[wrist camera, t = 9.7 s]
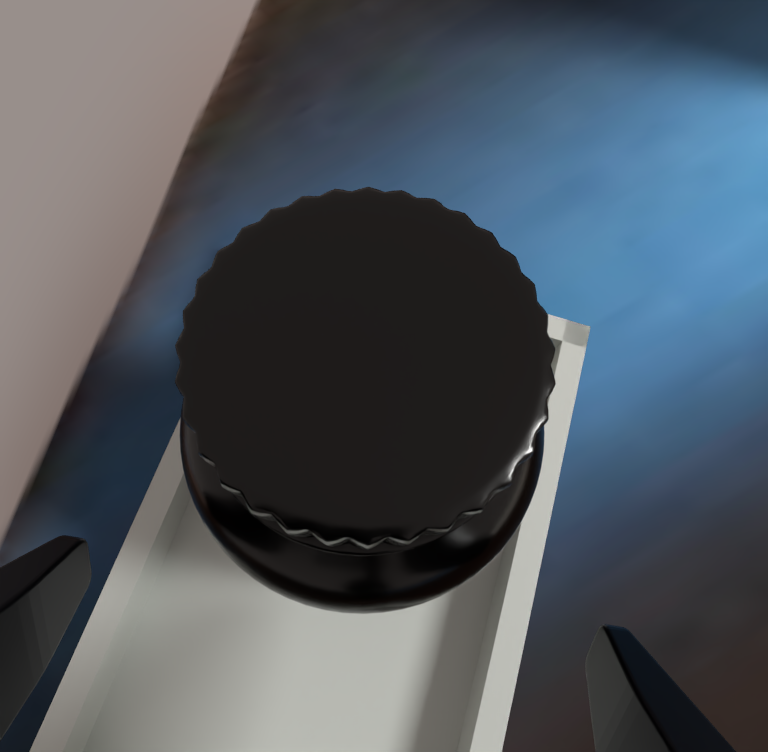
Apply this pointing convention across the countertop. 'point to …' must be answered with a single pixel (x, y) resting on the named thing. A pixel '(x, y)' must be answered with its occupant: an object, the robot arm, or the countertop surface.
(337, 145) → the countertop surface
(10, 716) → the robot arm
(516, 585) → the tray
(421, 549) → the supplement bottle
